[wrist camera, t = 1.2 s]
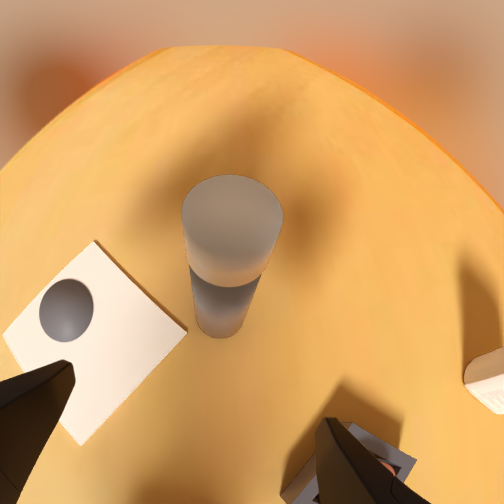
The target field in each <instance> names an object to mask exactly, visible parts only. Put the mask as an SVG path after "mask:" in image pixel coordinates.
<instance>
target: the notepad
mask: <svg viewBox="0 0 504 504" xmlns="http://www.w3.org/2000/svg"><path fill="white" fill-rule="evenodd" d="M186 334H187V332H186V331H184V330H183V329H182V328H181V327H180V326H179V325H178V324H177V323H175V322H174V321H173V320H172V319H171V318H170V317H169V316H168V315H167V314H165V313H164V312H163V311H162V310H161V309H160V308H159V307H158V306H157V305H156V304H155V303H154V302H153V301H151V300H150V299H149V298H148V297H147V296H146V295H145V294H144V293H143V292H142V291H141V290H140V289H139V288H138V287H137V286H136V285H135V284H134V283H133V282H132V281H131V280H130V279H129V278H128V277H127V276H126V275H125V274H124V273H123V272H122V271H121V270H120V269H119V268H118V267H117V266H116V265H115V264H114V263H113V262H112V261H111V260H110V259H109V257H108V256H107V255H106V254H105V253H104V252H103V251H102V250H101V249H100V248H99V247H98V246H97V245H96V243H95V242H94V241H93V242H92V243H91V244H90V245H89V246H87V247H86V248H85V249H84V250H83V251H82V252H81V253H80V254H79V255H78V256H77V257H76V258H74V259H73V260H72V261H71V262H70V263H69V264H68V265H67V266H66V267H65V268H64V269H63V270H62V271H61V272H60V273H59V274H58V275H57V276H56V277H55V278H54V279H53V280H52V281H51V282H50V283H49V284H48V285H47V286H46V287H45V288H44V289H43V290H42V291H41V292H40V293H39V294H38V295H37V296H36V297H35V298H34V300H33V301H32V302H31V303H30V304H29V305H28V306H27V307H26V308H25V309H24V310H23V312H22V313H21V314H20V315H19V316H18V317H17V318H16V319H15V321H14V322H13V323H12V324H11V325H10V326H9V328H8V329H7V330H6V331H5V332H4V334H3V337H4V339H5V341H6V343H7V345H8V346H9V348H10V350H11V352H12V353H13V355H14V357H15V359H16V360H17V362H18V364H19V365H20V367H21V369H22V370H23V372H24V373H26V372H29V371H32V370H34V369H37V368H40V367H43V366H45V365H48V364H51V363H53V362H56V361H59V360H62V359H64V360H66V361H69V362H71V363H72V364H73V367H74V373H75V378H76V383H75V386H74V388H73V391H72V393H71V395H70V397H69V400H68V402H67V404H66V406H65V409H64V411H63V413H62V415H61V417H60V419H59V422H60V423H61V424H62V425H63V427H64V428H65V429H66V430H67V431H68V432H69V434H70V435H71V436H72V437H73V438H74V439H75V440H76V441H77V443H78V444H79V445H80V446H82V445H83V444H84V443H85V442H86V441H87V440H88V439H89V438H90V437H91V436H92V435H93V434H94V432H95V431H96V430H97V429H98V428H99V427H100V426H101V425H102V424H103V423H104V422H105V421H106V420H107V419H108V418H109V417H110V416H111V414H112V413H113V412H114V411H115V410H116V409H117V408H118V407H119V406H120V405H121V404H122V403H123V402H124V401H125V400H126V399H127V398H128V396H129V395H130V394H131V393H132V392H133V391H134V390H135V389H136V388H137V387H138V386H139V385H140V384H141V383H142V382H143V380H144V379H145V378H146V377H147V376H148V375H149V374H150V373H151V372H152V371H153V370H154V369H155V368H156V367H157V365H158V364H159V363H160V362H161V361H162V360H163V359H164V358H165V357H166V356H167V355H168V354H169V353H170V352H171V350H172V349H173V348H174V347H175V346H176V345H177V344H178V343H179V342H180V341H181V340H182V339H183V338H184V336H185V335H186Z"/></svg>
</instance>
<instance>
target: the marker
mask: <svg viewBox="0 0 504 504" xmlns="http://www.w3.org/2000/svg"><path fill="white" fill-rule="evenodd" d="M181 213H182V224H183V233H184V242H185V251H186V257H187V260H188V263H189V267H190V276H191V284H192V291H193V299H194V306H195V313H196V320H197V323H198V325H199V327H200V329H201V330H202V331H203V332H204V333H205V334H207V335H209V336H211V337H214V338H227V337H230V336H232V335H234V334H235V333H236V332H237V331H238V330H239V329H240V328H241V326H242V323H243V321H244V318H245V316H246V313H247V310H248V308H249V305H250V303H251V300H252V297H253V295H254V292H255V289H256V287H257V284H258V282H259V279H260V276H261V274H262V272H263V271H264V270H265V268H266V266H267V264H268V261H269V259H270V256H271V253H272V251H273V248H274V246H275V243H276V240H277V238H278V235H279V233H280V230H281V227H282V223H283V212H282V208H281V205H280V203H279V201H278V199H277V197H276V196H275V195H274V194H273V192H272V191H271V190H270V189H268V188H267V187H266V186H265V185H263V184H262V183H260V182H258V181H256V180H254V179H251V178H248V177H245V176H240V175H219V176H215V177H211V178H208V179H206V180H204V181H202V182H200V183H199V184H197V185H196V186H195V187H193V188H192V189H191V190H190V192H189V193H188V194H187V196H186V197H185V200H184V202H183V205H182V212H181Z"/></svg>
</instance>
